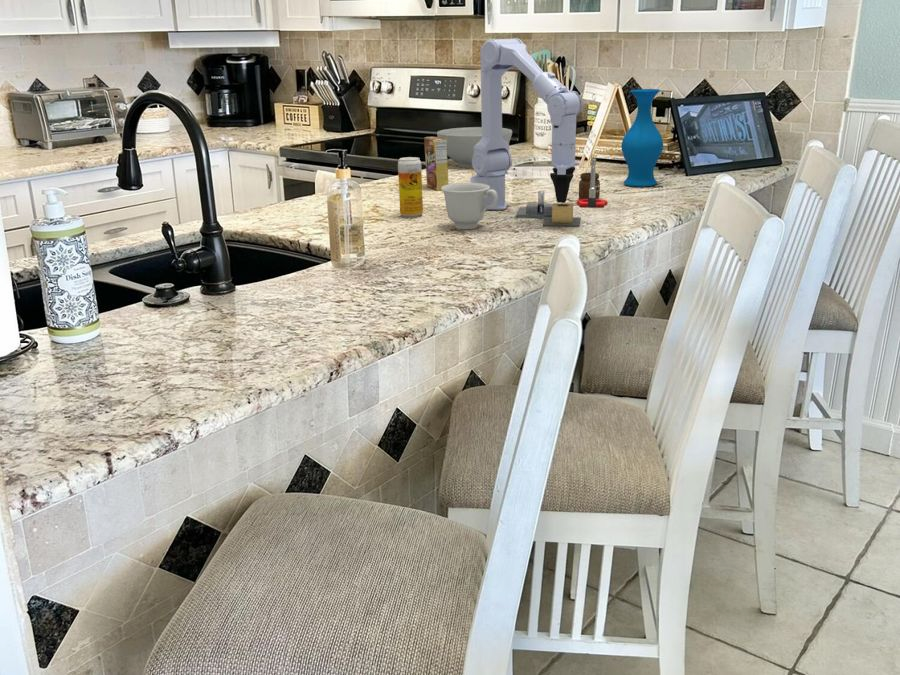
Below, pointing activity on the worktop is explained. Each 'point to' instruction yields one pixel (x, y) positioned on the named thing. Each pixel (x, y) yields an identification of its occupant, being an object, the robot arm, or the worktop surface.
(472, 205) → the teacup
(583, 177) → the utensil holder
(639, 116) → the vase
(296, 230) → the worktop surface
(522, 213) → the vise
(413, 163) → the beer can
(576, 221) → the mat
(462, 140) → the decorative bowl
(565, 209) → the tan slotted block
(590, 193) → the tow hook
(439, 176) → the candy box
